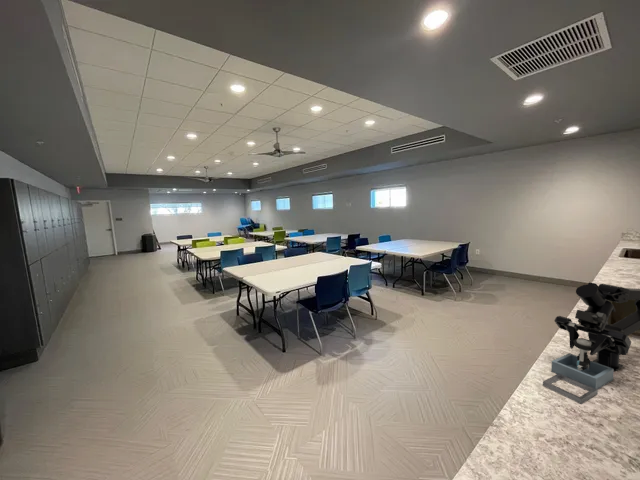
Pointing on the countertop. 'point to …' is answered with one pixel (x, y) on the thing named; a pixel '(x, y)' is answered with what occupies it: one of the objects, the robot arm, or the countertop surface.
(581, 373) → the plastic bin
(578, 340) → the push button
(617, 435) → the countertop surface
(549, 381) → the silver picture frame
